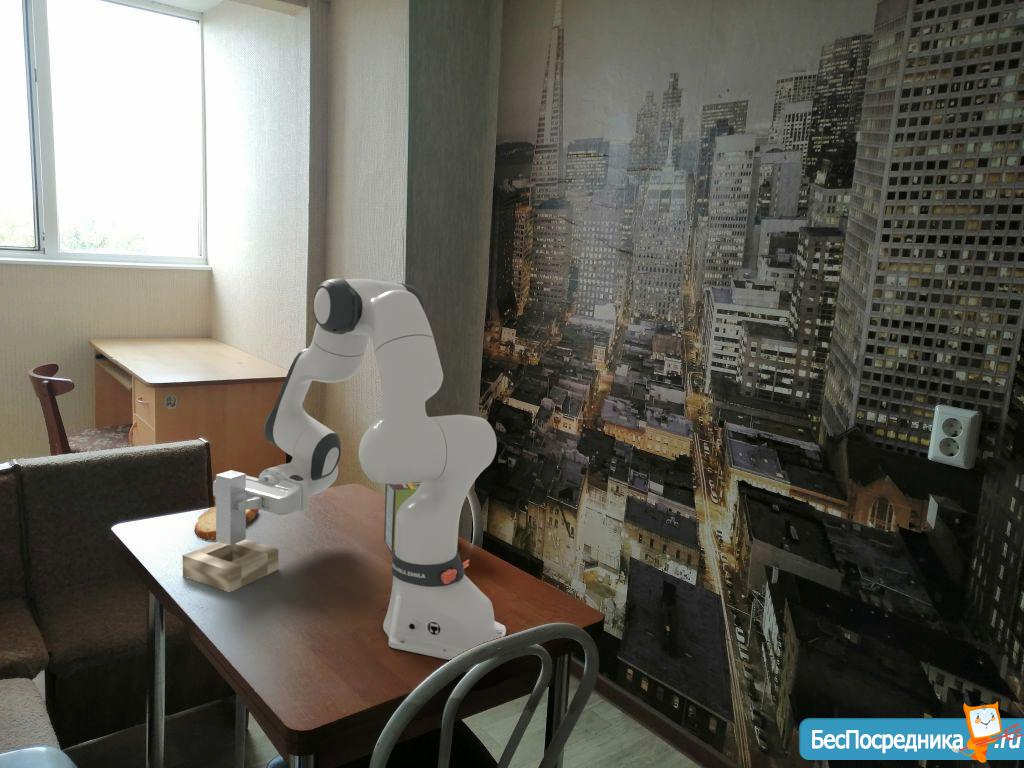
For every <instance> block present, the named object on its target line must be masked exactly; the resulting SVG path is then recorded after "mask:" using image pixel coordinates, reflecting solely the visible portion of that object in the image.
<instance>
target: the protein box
mask: <svg viewBox="0 0 1024 768" xmlns="http://www.w3.org/2000/svg"><path fill="white" fill-rule="evenodd" d="M421 483H422V481H420V482H413V483H406V484H386V483H385V493H384V495H385V497H384V499H385V501H384V527H383V528H384V529H383V530H384V531H383V541H384V542H385V544H386V546H387V547H388V549H389V551H390V552H391V555H393V551H394V550H395V536H396V515H397V512H398V510H399V508H400V506H401V505H402V503H403V502H404V501H406V500H407V499H408V498H409V497H411V496H412V495H413V494H414V493H415V492H416V491H417V489H418V488H419V486H420V485H421ZM459 527H460V526H459ZM459 527H458V531H459ZM458 546H459V537H458V538H457V550H458V548H459V547H458Z"/></svg>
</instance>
